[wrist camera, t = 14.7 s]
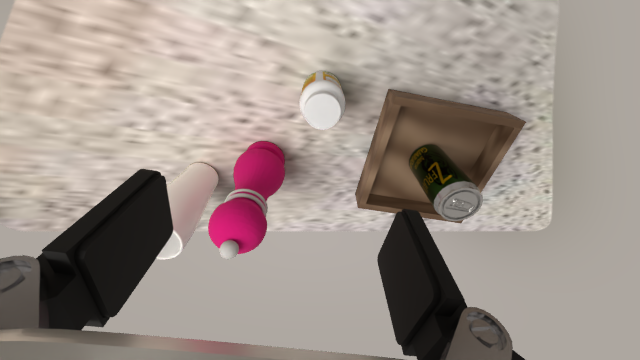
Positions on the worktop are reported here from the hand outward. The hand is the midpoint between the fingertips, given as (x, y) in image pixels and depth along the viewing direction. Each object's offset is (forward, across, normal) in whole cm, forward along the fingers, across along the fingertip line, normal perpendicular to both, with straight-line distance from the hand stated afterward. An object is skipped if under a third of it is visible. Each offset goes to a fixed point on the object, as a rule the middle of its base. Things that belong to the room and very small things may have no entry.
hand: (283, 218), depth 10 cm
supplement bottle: (+28, -2, +1) cm, 29 cm away
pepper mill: (+28, +5, +13) cm, 32 cm away
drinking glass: (+28, +15, +18) cm, 37 cm away
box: (+28, -20, +8) cm, 36 cm away
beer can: (+28, -20, +8) cm, 35 cm away
